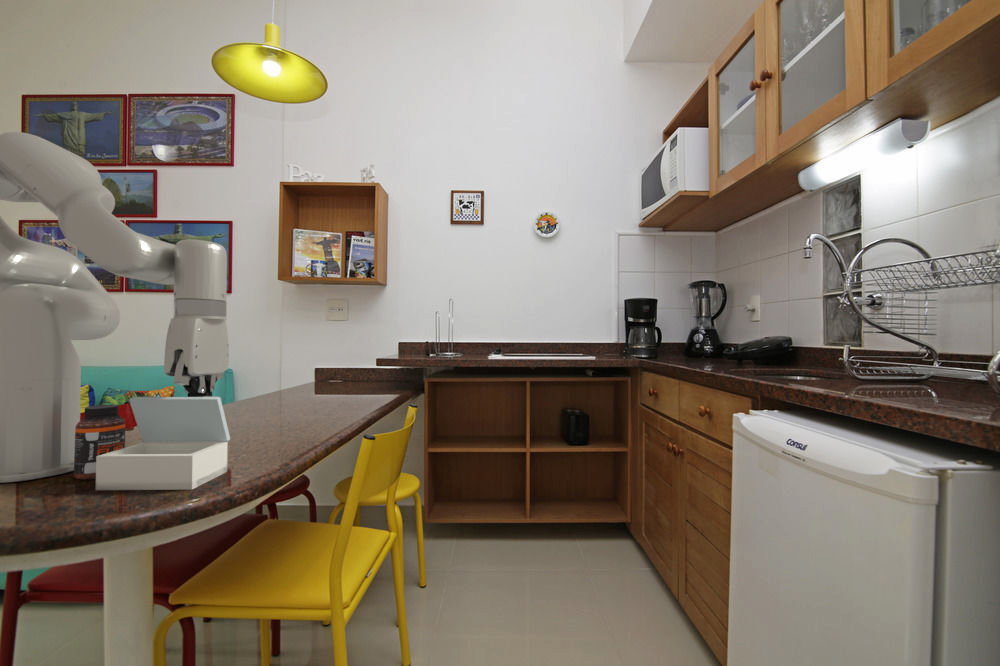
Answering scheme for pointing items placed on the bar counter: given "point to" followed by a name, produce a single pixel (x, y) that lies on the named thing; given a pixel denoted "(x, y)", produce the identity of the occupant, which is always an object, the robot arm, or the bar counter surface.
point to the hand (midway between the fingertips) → (199, 414)
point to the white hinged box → (161, 466)
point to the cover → (180, 419)
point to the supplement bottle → (97, 438)
